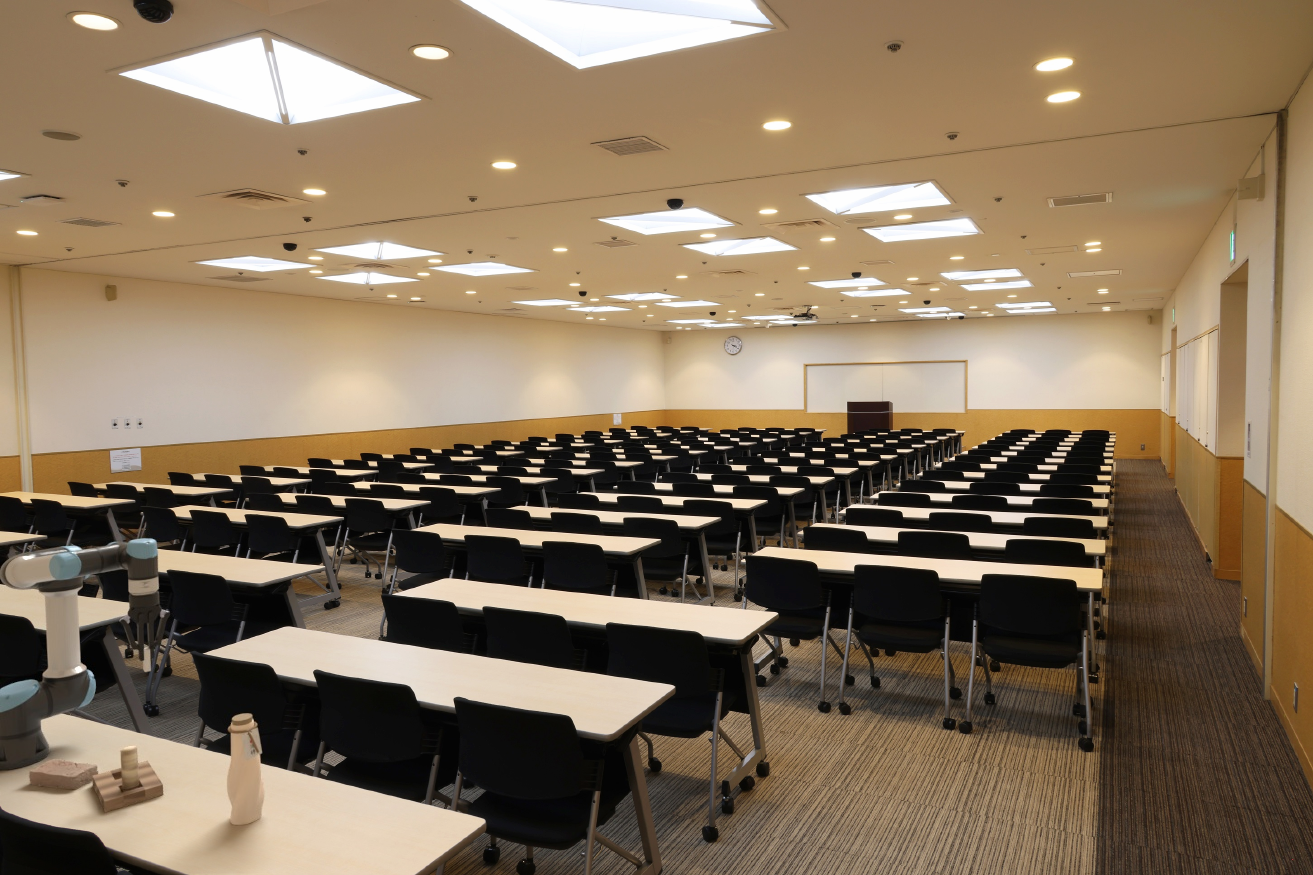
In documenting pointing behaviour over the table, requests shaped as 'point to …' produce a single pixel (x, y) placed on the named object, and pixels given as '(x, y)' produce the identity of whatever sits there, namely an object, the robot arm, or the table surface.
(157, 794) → the board
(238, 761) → the water bottle
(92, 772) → the brick
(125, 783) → the peg
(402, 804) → the table surface
